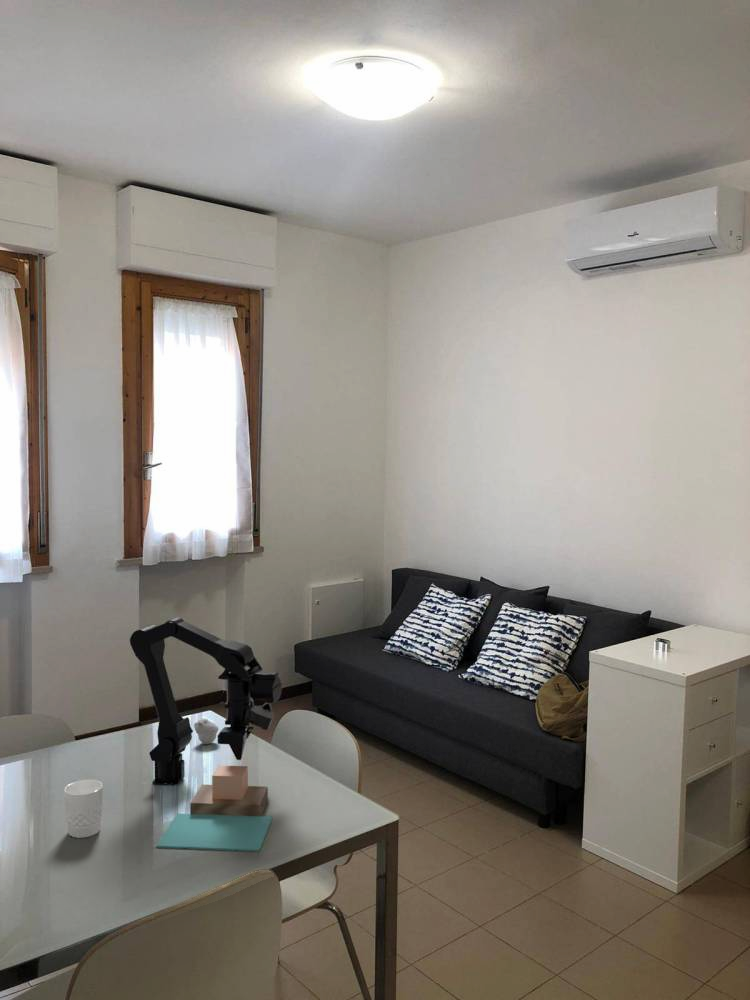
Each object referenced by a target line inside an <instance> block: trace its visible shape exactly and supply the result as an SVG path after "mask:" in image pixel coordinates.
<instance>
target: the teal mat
mask: <svg viewBox="0 0 750 1000" xmlns="http://www.w3.org/2000/svg"><path fill="white" fill-rule="evenodd" d="M272 821H273V816H264V815H261V816H237V815H209V814H190V813H179V812H178V813H177V814H175V817H174V818H173V820H171V822H170V823H169V825H168V827H167V828H166V830H165V832H164V833H163V834H162V836H161V837H160V839H159V841H158V843H156V845H155V846H156V848H162V849H183V848H187V850H188V849H189V850H209V849H212V850H213V849H214V851H235V850H238V852H239V851H241V852H243V851H244V852H260V851H259V850H261V848H262V846H263V843H264V841H265V838H266V836H267V833H268V831H269V828H270V826H271V824H272ZM212 850H211V851H212Z"/></svg>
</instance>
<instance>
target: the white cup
mask: <svg viewBox="0 0 750 1000" xmlns="http://www.w3.org/2000/svg"><path fill="white" fill-rule="evenodd" d="M103 787H104V786H103V782H101V781H99V780H96V779H81V780H76V781H74V782H71V783H69V784H67V785H66V786H65V787H64V790H63V791H64V801H65V814H66V815H65V816H66V822H67V829H68V830H67V831H68V833H67V834H68V835H69V836H70V837H71V836H72V838H75V837H76V838H75V839H85V838H88V837H92V836H95V835H96V834H99V832H100V831H101V829H102V828H101V821H102V816H103V815H102V813H103V811H102V810H103V809H102V808H103V789H104V788H103Z"/></svg>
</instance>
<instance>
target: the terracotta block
mask: <svg viewBox="0 0 750 1000" xmlns="http://www.w3.org/2000/svg"><path fill="white" fill-rule="evenodd" d="M248 768H249V766H248V765H218V766H217V767H216V769H215V770H214V772H213V774H212V775H211V785H212V799H235V800H242V799H243V797H244V795H245V793H246V791H247V789H248V786H249V775H248V772H249V769H248Z"/></svg>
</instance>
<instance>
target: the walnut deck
mask: <svg viewBox="0 0 750 1000" xmlns="http://www.w3.org/2000/svg"><path fill="white" fill-rule="evenodd" d="M267 799H269V788H268V786H262V785H261V786H260V785H259V786H258V785H257V786H256V785H255V786H254V785H248V789H247V791H246V793H245V795H244V797H243V799H242V800H235V799H212V784H201V785H200V787H199V788H198V790H197V792H196V793H195V795H194V796H193V798H192V799H191V801H190V803H189V810H190V811H189V814H209V815H237V816H262V814H263V810H264V808H265V807H266V804H267V802H268V800H267Z"/></svg>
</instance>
